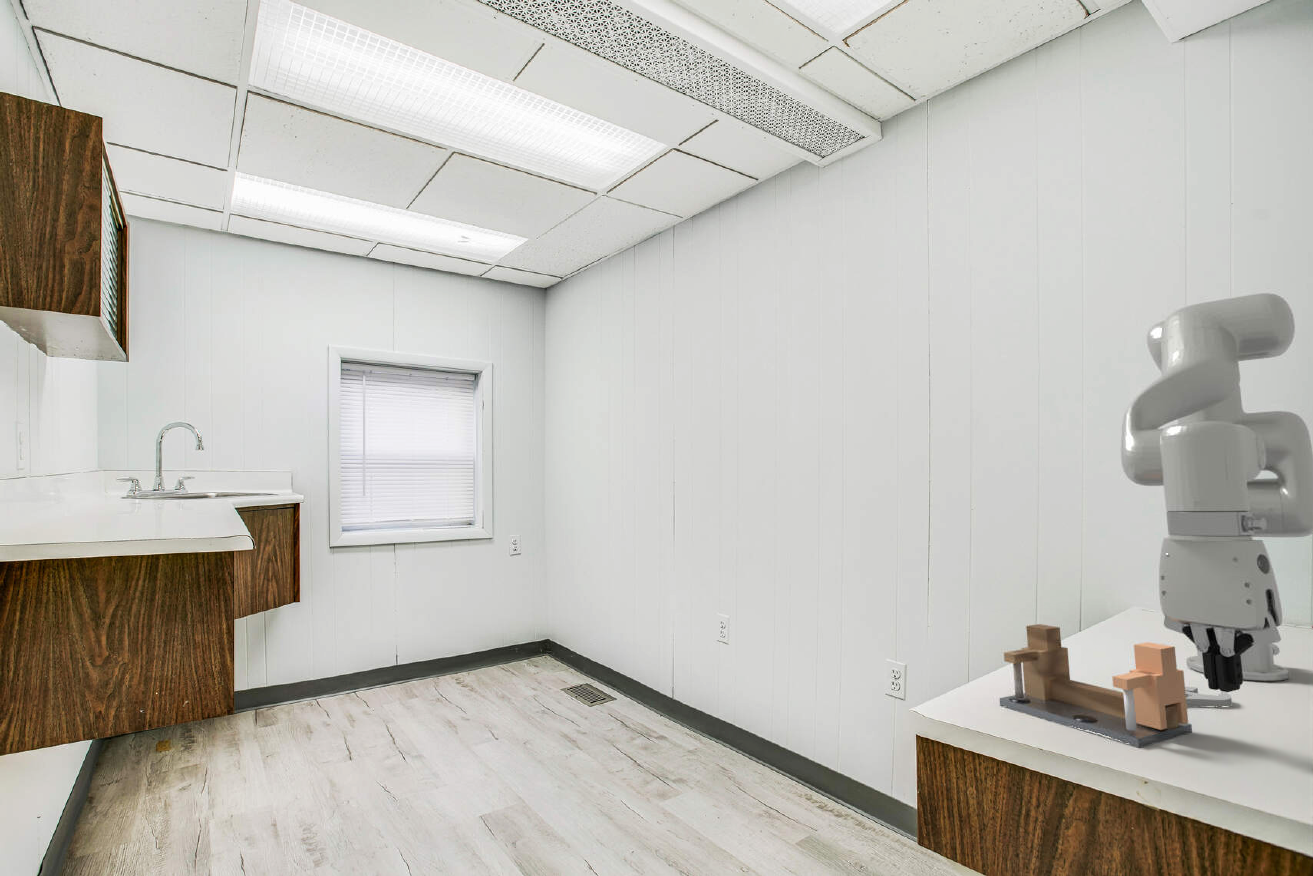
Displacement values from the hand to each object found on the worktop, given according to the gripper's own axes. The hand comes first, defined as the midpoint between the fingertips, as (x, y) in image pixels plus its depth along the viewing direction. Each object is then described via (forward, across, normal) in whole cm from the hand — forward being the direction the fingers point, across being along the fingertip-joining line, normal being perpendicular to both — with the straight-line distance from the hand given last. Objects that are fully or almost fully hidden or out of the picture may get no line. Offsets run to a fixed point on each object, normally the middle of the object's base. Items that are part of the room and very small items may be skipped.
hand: (1224, 688), depth 74 cm
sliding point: (+6, +7, +2) cm, 9 cm away
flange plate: (+7, +14, +2) cm, 16 cm away
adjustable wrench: (+8, +14, -10) cm, 19 cm away
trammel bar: (+6, +15, +2) cm, 16 cm away
